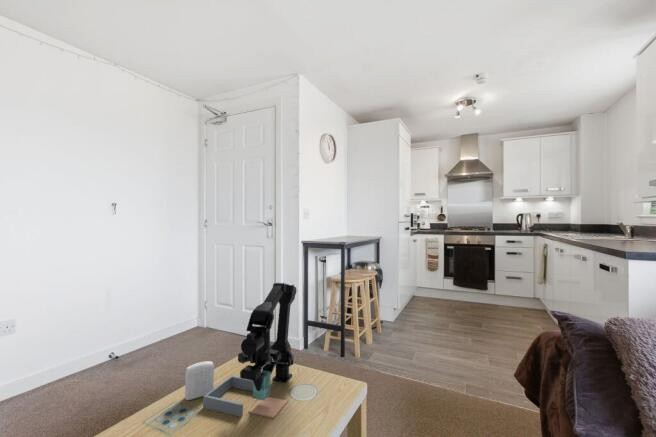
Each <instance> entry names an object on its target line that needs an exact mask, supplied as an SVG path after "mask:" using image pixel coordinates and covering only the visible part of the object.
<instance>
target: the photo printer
mask: <svg viewBox="0 0 656 437" xmlns="http://www.w3.org/2000/svg"><path fill="white" fill-rule="evenodd" d="M214 374H215V366H214V363H213V361H210V360H209V361H205V360H204V361H200V362H197V363H194V364H190V365H189V366H188V367H186V371H185V379H184V381H185V382H184V384H185V387H184V390H185V391H184V399H185V400H186V401H190V400H194V399H198V398H201V397H203V396H204V395H206V394H207V393H208V392H210V391H211V390H213V389H214V388H215V386H214V385H215V384H214V383H215V382H214V381H215V380H214V379H215V375H214Z"/></svg>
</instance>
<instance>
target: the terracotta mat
mask: <svg viewBox="0 0 656 437" xmlns="http://www.w3.org/2000/svg"><path fill="white" fill-rule="evenodd" d="M287 403H288V400H284V399H280V398H275V397H271V396H268V397H267V398H266V399H265V400H260V399H258V401H257V402H256V403H255V404H254V405H253V406H252V407H251V408H250V409H249V410H248V413H250V414H254V415H259V416H262V417H267V418H271V419H275V418H276V417H277V415H278V414H279V413H280V412H281V411H282V409H283V408H284V407H285V406H286V404H287Z"/></svg>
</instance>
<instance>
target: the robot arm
mask: <svg viewBox="0 0 656 437" xmlns="http://www.w3.org/2000/svg"><path fill="white" fill-rule="evenodd" d="M296 295H297V287H296V286H295V285H294V284H288V283H285V282H274V283H273V284H272V288H271V290H270V291H269V292H268V294H267V296H266V297H265V299H264V300H263V302H262V303H260V304H259V305H257V306H256V307H255V308H254V309H253V311H252V312H251V313H250V317H249V321H248V324H247V327H246V330H245V331H246V332H249V333H247V334H246V338H245V339H243V340H242V341H241V344H240V350H241V351H240V352H239V353H238V354H237V361H238V363H239V364H240V363H241V364H246V363H249V364H247V365H246V366H245V367H244V368H243V367H242V369H241V370H240V371H239V377H240V378H242V379H247V380H252V381H253V382H254V384H255V387H256V390H257V391H260V389H261V385H262V382H263V378H264V375H265V373H262V370H264V371H269V372H271V375H272V374H273V371H274V369H275V376H274V377H271V378H272V381H277V382H281V383H287V382H288V381H289V380H290V379H291V378H292V377H293V373H290V367H291V366H292V365H294V361H295V360H294V359H295V356H294V354H293V353H292V346H291V344H290V341H289V330H290V329H289V328H290V316H291V315H290V314H291V305H292V304H293V302H294V300H295V299H296ZM278 304H279V308H278V319H277V320H278V321H277V332H276V340H275V342H274V343H273V344H271V329H272V328H273V327H272V325H273V322H274V320H275V313H274V311H275V309H276V307H277V305H278ZM251 364H254V365H251Z"/></svg>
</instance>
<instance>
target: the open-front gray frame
mask: <svg viewBox="0 0 656 437" xmlns="http://www.w3.org/2000/svg"><path fill="white" fill-rule="evenodd" d="M231 388H234V389H235V388H236V389H239V390H246V391H250V392H253V381H252V380H247V379H242V378H240V376H238V375H230V376H229V377H228V378H225V380H223V381H222V382H221V383H218V385H216V386H214V389H213V390H211V391H210V392H208V393H207V394H206V395H204V396H202V397H203V398H202V401H203V402H202V408H203V409H207V410H211V411H215V412H220V413H224V414H228V415H230V416H231V415H232V416H237V417H240V418H241V417H242V418H243V415H244V414H243V413H244V403H242V402H238V401H234V400H230V399H224V398H221V397H222V396H223V395H224V394H225V393H227V392H228V391H229V390H230V389H231Z"/></svg>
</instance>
